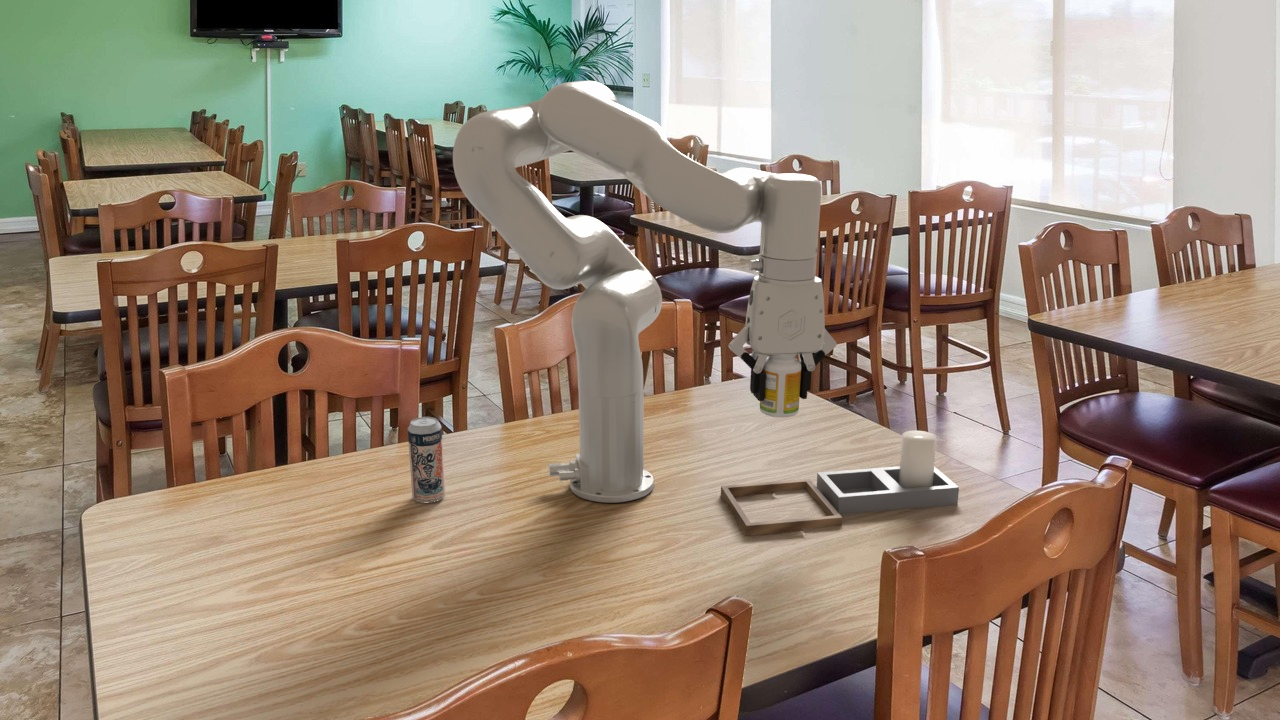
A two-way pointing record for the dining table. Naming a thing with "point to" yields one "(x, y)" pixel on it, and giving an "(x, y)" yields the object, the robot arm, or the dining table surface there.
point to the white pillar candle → (917, 459)
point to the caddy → (882, 490)
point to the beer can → (426, 459)
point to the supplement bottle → (781, 385)
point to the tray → (779, 525)
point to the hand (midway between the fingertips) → (779, 395)
